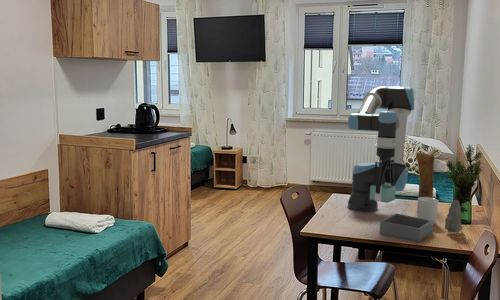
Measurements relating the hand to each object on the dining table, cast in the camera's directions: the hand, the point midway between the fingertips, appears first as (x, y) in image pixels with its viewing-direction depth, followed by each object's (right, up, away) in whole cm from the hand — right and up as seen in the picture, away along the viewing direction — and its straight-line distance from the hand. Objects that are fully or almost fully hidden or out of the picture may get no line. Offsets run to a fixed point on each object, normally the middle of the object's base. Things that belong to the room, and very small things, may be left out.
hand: (382, 199), depth 207 cm
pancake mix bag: (+35, -8, +46) cm, 59 cm away
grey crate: (+9, -14, -3) cm, 17 cm away
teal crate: (0, 0, 0) cm, 0 cm away
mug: (+24, -12, +15) cm, 31 cm away
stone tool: (+30, -15, -1) cm, 34 cm away
